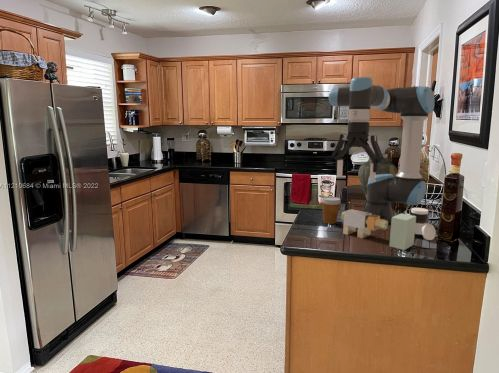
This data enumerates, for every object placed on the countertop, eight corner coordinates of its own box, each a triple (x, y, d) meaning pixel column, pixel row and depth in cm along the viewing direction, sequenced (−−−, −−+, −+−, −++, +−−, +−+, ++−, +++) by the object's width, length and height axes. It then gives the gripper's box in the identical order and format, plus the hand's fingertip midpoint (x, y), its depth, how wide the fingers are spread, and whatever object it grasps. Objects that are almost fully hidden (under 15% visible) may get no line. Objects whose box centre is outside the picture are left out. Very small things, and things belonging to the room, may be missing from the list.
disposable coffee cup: (340, 220, 182) (341, 197, 180) (339, 225, 173) (340, 201, 171) (320, 218, 185) (321, 195, 183) (319, 223, 176) (320, 199, 174)
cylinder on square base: (345, 220, 166) (346, 209, 165) (388, 230, 152) (389, 217, 151) (340, 222, 163) (340, 210, 162) (382, 232, 149) (383, 219, 148)
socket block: (398, 241, 151) (401, 213, 149) (413, 244, 147) (416, 216, 145) (389, 246, 145) (391, 217, 143) (404, 250, 141) (406, 220, 139)
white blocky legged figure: (350, 230, 166) (351, 209, 164) (370, 235, 159) (372, 213, 157) (342, 233, 161) (343, 211, 159) (363, 238, 154) (364, 216, 152)
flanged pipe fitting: (411, 230, 166) (413, 206, 164) (438, 235, 159) (441, 210, 157) (403, 237, 157) (405, 211, 155) (431, 242, 150) (434, 215, 148)
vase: (390, 200, 230) (394, 152, 224) (399, 208, 208) (403, 156, 203) (354, 198, 233) (357, 152, 227) (359, 206, 211) (362, 155, 206)
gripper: (324, 121, 138) (321, 175, 142) (387, 121, 121) (382, 184, 125) (334, 121, 144) (332, 174, 147) (396, 121, 126) (392, 181, 130)
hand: (355, 178), depth 136 cm, fingers open, 13 cm apart
